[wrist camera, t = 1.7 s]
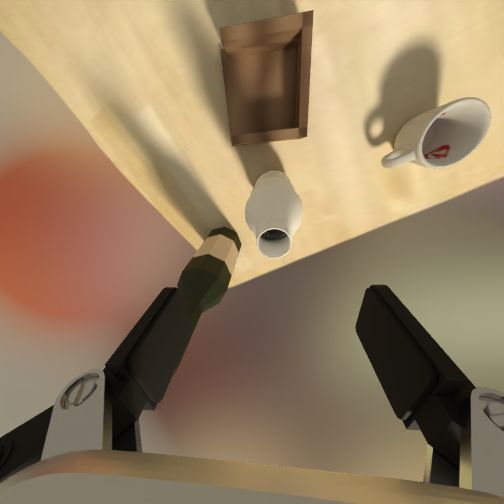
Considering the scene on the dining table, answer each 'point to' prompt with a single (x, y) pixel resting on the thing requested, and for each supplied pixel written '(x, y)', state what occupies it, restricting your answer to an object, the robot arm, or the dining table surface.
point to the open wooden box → (268, 78)
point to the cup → (441, 135)
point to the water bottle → (273, 213)
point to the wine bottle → (208, 274)
